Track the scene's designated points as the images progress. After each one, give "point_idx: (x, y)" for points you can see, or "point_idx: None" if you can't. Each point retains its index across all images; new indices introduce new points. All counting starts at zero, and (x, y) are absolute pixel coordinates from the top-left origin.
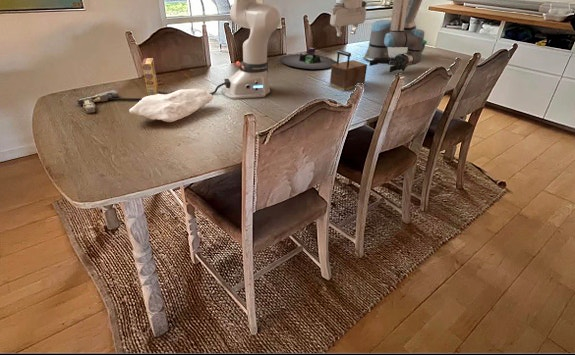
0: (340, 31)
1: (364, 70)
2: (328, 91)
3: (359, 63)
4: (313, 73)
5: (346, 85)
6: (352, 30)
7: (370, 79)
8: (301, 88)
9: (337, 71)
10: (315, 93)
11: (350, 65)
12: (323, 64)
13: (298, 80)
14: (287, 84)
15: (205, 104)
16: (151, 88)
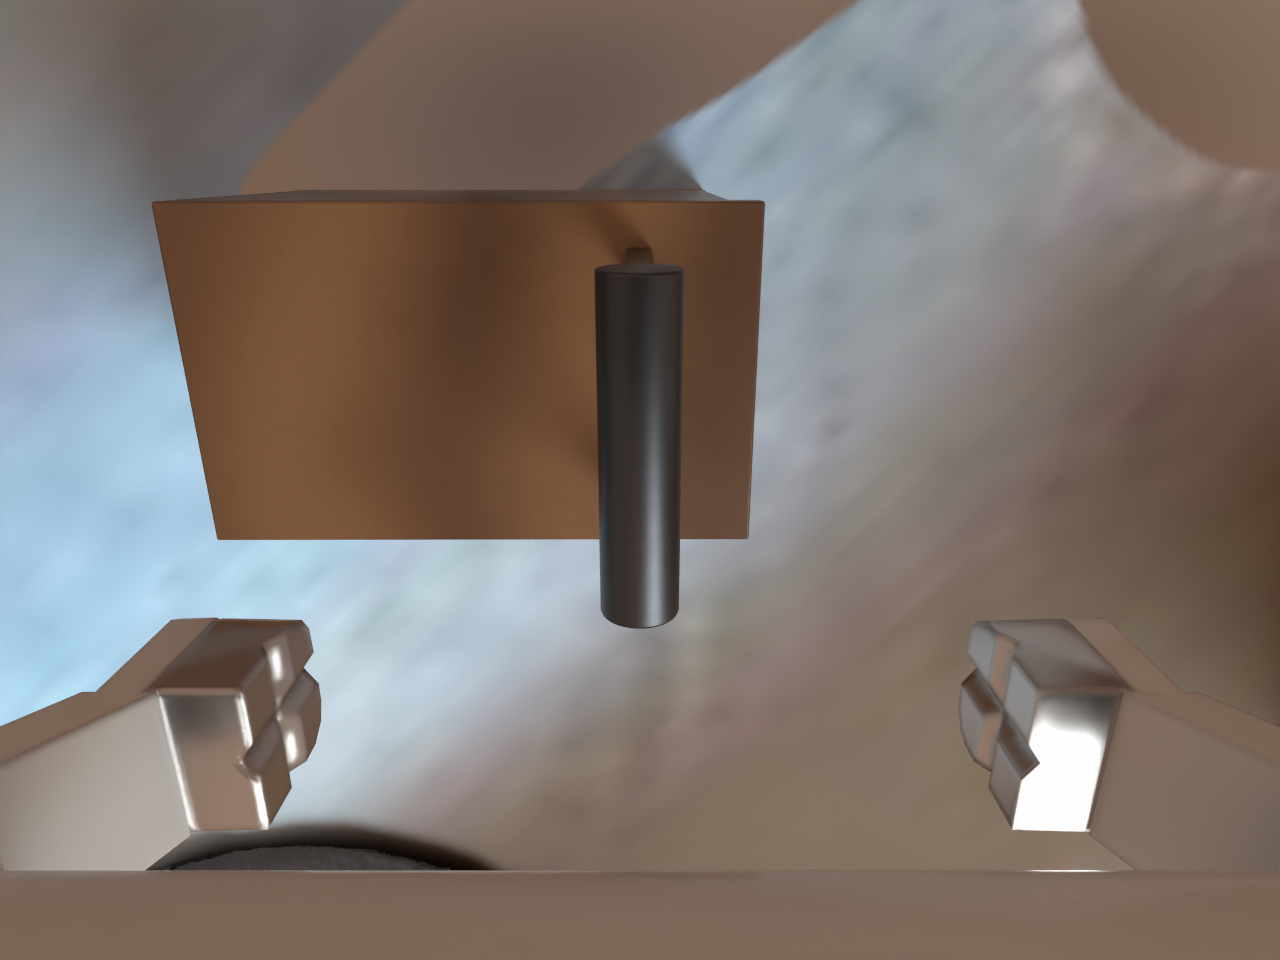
0: (1181, 714)
1: (253, 198)
2: (870, 288)
3: (249, 330)
4: (550, 808)
5: (662, 192)
6: (241, 760)
7: (51, 319)
8: (1035, 531)
9: None
10: (1048, 323)
11: (490, 328)
12: None
13: (857, 727)
14: None
15: None
16: None
